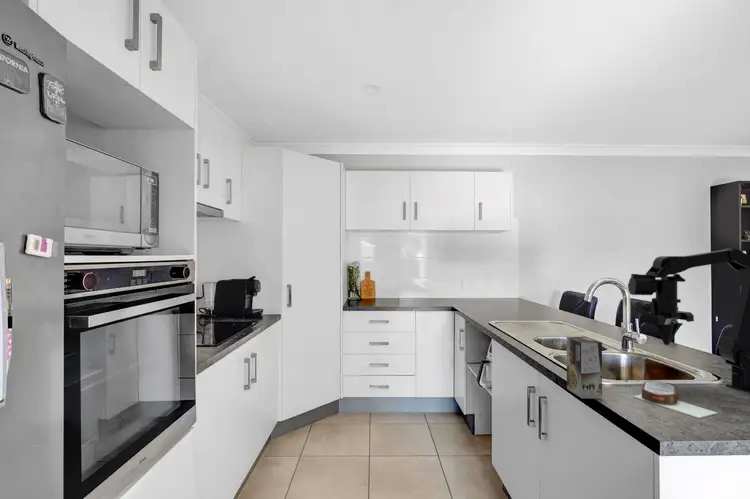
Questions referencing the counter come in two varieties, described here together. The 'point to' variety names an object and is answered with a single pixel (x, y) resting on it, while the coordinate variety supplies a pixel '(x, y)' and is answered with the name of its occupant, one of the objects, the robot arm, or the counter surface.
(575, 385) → the coffee box
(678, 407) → the mat
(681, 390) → the counter surface
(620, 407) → the counter surface
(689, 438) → the counter surface
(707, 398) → the counter surface
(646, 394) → the tin
